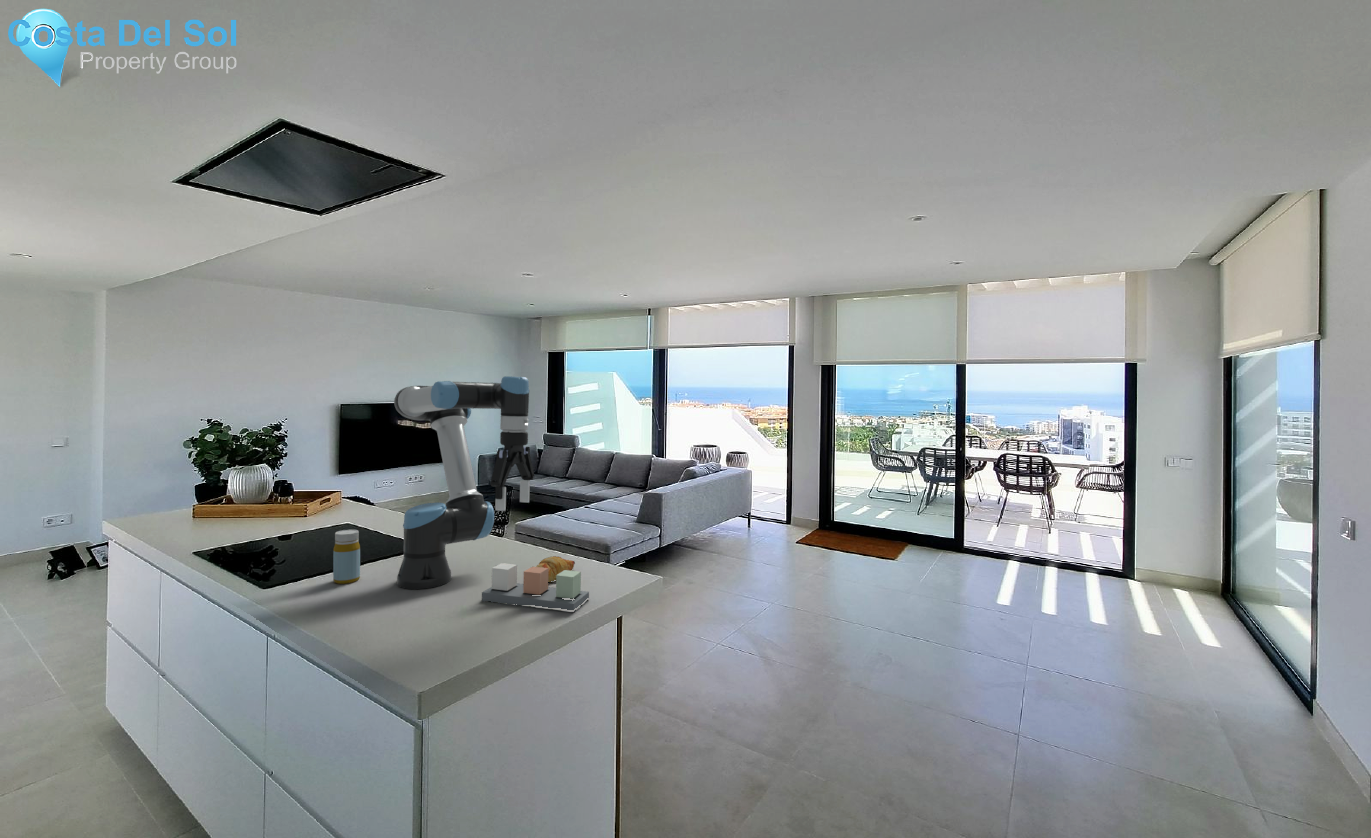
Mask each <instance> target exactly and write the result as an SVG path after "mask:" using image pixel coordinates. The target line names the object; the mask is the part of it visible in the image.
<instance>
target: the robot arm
mask: <svg viewBox="0 0 1371 838" xmlns="http://www.w3.org/2000/svg"><path fill="white" fill-rule="evenodd" d="M529 383H530V382H529V379H528V377H525V376H507V375H506V376H502V378H501V382H479V381H477V382H472V381H471V382H470V381H469V382H468V381H467V382H466V381H451V380H442V381H441V380H439V381H435V382H434V383H433V385H412V386H407V387H403V388H402V389H400V390H398V391H397V392H396V395H395V397H394V399H393V403H394V407H395V410H396V411H397V412H398V413H399V414H400V415H401V416H402V417H404V418H407V419H410V420H414V421H429V422H430V428H431V429H432V430H434V431H435V432H436V433H437V439H438V444H439V449H440V450H439V451H440V455H441V459H442V465H443V470H444V476H445V480H446V486H447V492H448V495H449V497H448V499H447V500H446V501H445V503H444V502H436V501H435V502H427V503H421V504H418V505H416V506H412V507H410V508H409V509H407V510H406V511H405V513H404V516H403V517H404V518H403V525H402V528H403V559H402V561H401V565H400V567H399V570H398V573H397V575H396V585H397V586H398V587H400V588H403V589H408V590H409V589H410V590H422V589H425V590H426V589H431V588H435V587H439V586H443V585H445V584H448V583H449V582H450V581H451V580H452V570H451V569H450V566H449V565H450V564H449V563H448V559H447V556H446V546H447V545H452V544H456V543H462V542H463V543H464V542H468V541H476V540H481V539H484V538H486V537H488V536H489V535H490V534H491V532H492V530H493V527H494V522H495V511H497V512H500V511H501V512H506V510H507V509H506V507H507V487H506V486H505V485H506V482H507V479H508V477H509V474H510V472H511V470H512V468H513V467H514V466H515V465H516V468H517V470H518V472H519V474H520V477H521V479H520V480H519V482H520V483H519V503H528V504H529V503H530V492H531V491H530V483H531V482H530V481H533V480H534V478H535V477H534V476H535V471H534V466H533V463H532V458H531V450H530V449H531V448H530V446H527V445H528V444H529V432H527V430H528V429H529V422H530V420H529V401H530V388H529V387H530V384H529ZM472 409H476V410H477V409H479V410H481V409H482V410H483V409H484V410H485V409H487V410H488V409H494V410H495V409H496V410H497V409H499V410H500V423H499V424H500V428H499V429H500V430H502V431H501V432H500V437H499V438H500V441H499V444H500V445H501V446H504V447H503V450H502V449H498V450H496V459H495V463H494V467H493V471H492V475H491V479H490V483H489V484H490V486H491V487H493V488H495V506H494V507H495V510H494V507H493V505H492V503H491V502H490V501H485V499H484V495H483V494H482V493H480V492H479V491H478V489H477V483H476V480H475V476H474V475H475V474H474V471H473V466H472V461H471V455H470V451H469V446H468V441H467V436H466V431H465V426H466V424H467V423H468V419H469V418H470V417H471V414H472Z"/></svg>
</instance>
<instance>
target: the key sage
mask: <svg viewBox="0 0 1371 838" xmlns="http://www.w3.org/2000/svg"><path fill="white" fill-rule="evenodd" d="M581 576H582V572H581V571H577V570H571V571H569V570H564V571H562V572H561V573H559V574H558V575H556V581H555V582H556V583H555V588H556V597H562V598H570V599H573V598H574V597H576V596H577V595H578V594H580V591H582V590H581V587H582V586H581V585H582V581H581V580H582V577H581Z"/></svg>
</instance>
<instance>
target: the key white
mask: <svg viewBox="0 0 1371 838" xmlns="http://www.w3.org/2000/svg"><path fill="white" fill-rule="evenodd" d="M517 583H518V564H512V563H504V562H501V563H499V564H497V565H495V566H493V567H491V587H492V589H497V590H505V591H508V590H510V589H511V588H513V587H515V586H516V585H517Z"/></svg>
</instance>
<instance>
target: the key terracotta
mask: <svg viewBox="0 0 1371 838" xmlns="http://www.w3.org/2000/svg"><path fill="white" fill-rule="evenodd" d="M548 571H549V568H542V567H536V566H530V568H527V569H525V570H524V571H523V583H522V584H523V593H530V594H538V595H540V594H541V593H543V592H544V591H546V590H547V589H548V587H549V583H548Z"/></svg>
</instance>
